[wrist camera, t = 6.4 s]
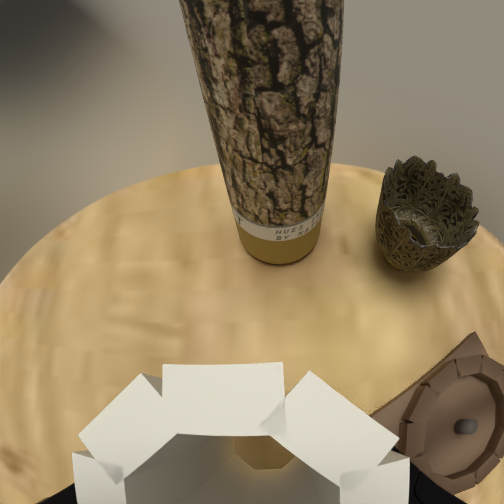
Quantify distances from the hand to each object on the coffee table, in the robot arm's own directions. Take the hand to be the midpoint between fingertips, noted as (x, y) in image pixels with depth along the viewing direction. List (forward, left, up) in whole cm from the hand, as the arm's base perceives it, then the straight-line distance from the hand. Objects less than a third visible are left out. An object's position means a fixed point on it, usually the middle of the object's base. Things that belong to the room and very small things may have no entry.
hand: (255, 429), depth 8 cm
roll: (-1, +1, -7) cm, 7 cm away
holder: (-9, -11, -11) cm, 19 cm away
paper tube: (+13, -7, -11) cm, 19 cm away
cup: (+6, -15, -11) cm, 20 cm away
